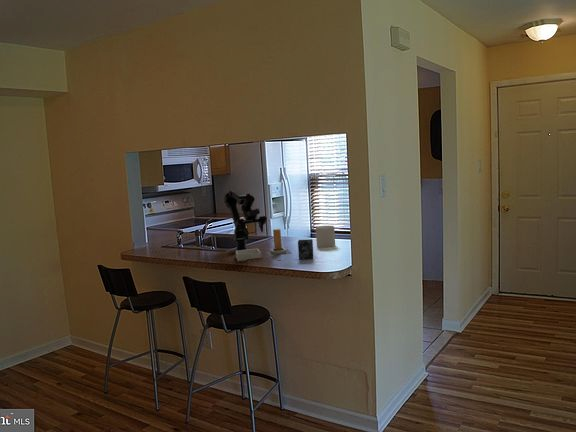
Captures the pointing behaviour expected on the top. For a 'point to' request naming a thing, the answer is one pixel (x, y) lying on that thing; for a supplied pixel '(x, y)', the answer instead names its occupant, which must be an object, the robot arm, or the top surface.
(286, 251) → the socket mount
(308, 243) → the box
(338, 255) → the top surface
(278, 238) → the strut
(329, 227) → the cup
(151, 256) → the top surface
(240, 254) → the bin
